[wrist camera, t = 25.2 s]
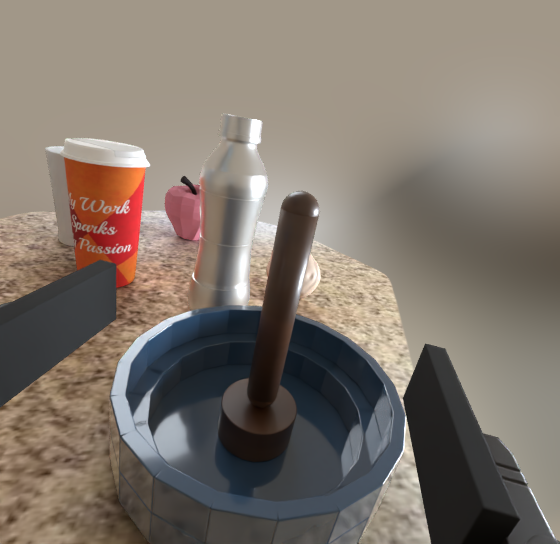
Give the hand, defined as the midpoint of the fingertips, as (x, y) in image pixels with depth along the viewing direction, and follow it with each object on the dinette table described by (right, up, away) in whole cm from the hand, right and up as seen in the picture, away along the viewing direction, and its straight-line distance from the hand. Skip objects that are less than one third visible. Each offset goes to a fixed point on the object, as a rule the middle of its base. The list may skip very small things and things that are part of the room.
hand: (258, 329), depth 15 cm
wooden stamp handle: (-1, -8, +9) cm, 13 cm away
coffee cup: (-19, +2, +27) cm, 33 cm away
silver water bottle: (-6, -3, +24) cm, 24 cm away
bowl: (-1, -9, +10) cm, 13 cm away
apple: (-14, +8, +45) cm, 48 cm away
